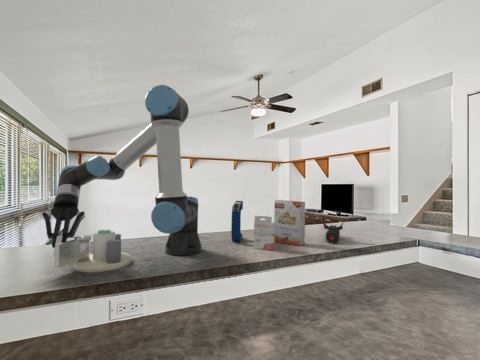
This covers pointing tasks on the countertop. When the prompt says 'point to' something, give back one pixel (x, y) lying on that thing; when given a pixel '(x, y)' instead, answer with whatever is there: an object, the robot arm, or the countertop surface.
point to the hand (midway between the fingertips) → (56, 255)
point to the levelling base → (102, 264)
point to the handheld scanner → (236, 221)
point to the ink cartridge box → (263, 233)
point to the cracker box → (289, 222)
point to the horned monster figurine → (332, 233)
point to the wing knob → (73, 250)
